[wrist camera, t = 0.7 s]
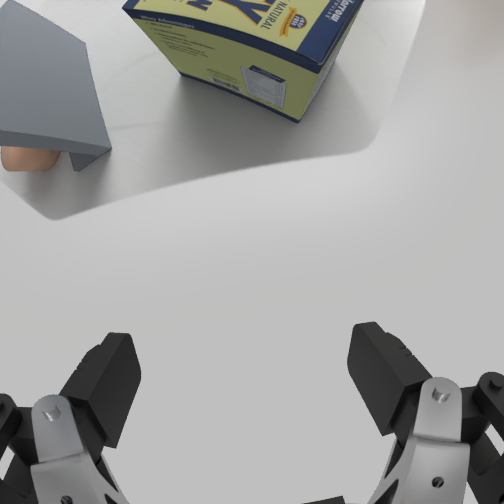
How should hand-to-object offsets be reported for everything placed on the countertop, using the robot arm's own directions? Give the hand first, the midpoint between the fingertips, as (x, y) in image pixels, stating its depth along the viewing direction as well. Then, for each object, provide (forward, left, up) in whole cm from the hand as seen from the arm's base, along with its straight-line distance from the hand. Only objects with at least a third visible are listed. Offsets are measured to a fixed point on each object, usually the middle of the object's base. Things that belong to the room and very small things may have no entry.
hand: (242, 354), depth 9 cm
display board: (-28, -16, -22) cm, 38 cm away
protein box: (-20, +7, -22) cm, 30 cm away
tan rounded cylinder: (-25, -24, -22) cm, 40 cm away
